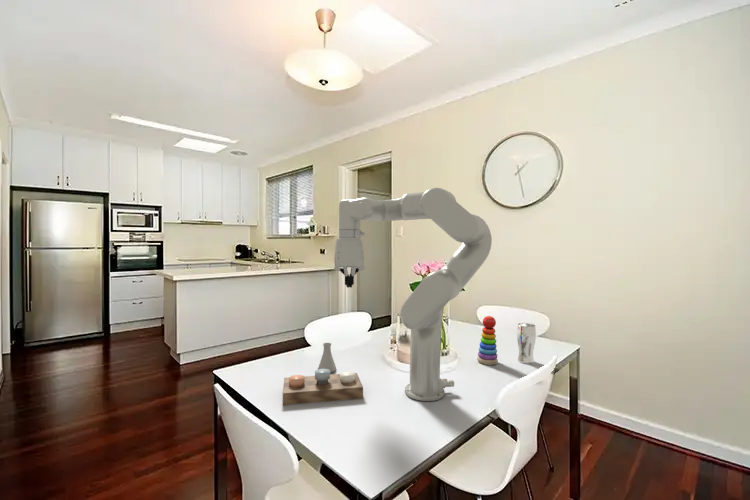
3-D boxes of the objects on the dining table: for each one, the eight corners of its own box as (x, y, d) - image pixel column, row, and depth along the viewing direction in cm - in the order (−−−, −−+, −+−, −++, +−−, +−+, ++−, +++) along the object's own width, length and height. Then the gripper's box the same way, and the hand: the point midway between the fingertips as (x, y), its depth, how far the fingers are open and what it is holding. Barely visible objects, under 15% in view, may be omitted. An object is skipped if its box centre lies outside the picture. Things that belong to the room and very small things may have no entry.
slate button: (329, 384, 117) (329, 368, 117) (330, 391, 112) (330, 373, 112) (314, 386, 116) (314, 369, 116) (315, 392, 111) (315, 374, 111)
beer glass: (516, 362, 144) (517, 325, 144) (516, 357, 151) (517, 322, 150) (535, 365, 142) (536, 327, 141) (534, 359, 148) (535, 323, 148)
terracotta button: (304, 391, 116) (304, 374, 115) (304, 397, 111) (304, 380, 111) (288, 392, 115) (289, 375, 114) (288, 399, 110) (288, 381, 110)
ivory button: (353, 387, 119) (353, 371, 119) (355, 393, 114) (356, 376, 114) (339, 388, 118) (339, 372, 118) (340, 394, 113) (341, 377, 113)
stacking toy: (477, 364, 142) (478, 317, 141) (476, 358, 150) (477, 313, 149) (498, 366, 140) (499, 318, 140) (496, 359, 148) (497, 314, 147)
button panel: (356, 382, 123) (356, 372, 123) (362, 398, 111) (363, 387, 111) (284, 388, 118) (284, 377, 118) (282, 405, 106) (282, 393, 106)
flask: (333, 374, 130) (333, 347, 130) (314, 373, 132) (314, 345, 131) (339, 367, 137) (339, 341, 137) (320, 366, 139) (321, 340, 138)
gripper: (368, 235, 132) (367, 285, 132) (327, 235, 129) (327, 286, 129) (372, 235, 125) (372, 288, 125) (329, 234, 121) (328, 288, 122)
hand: (349, 286), depth 127 cm, fingers closed
